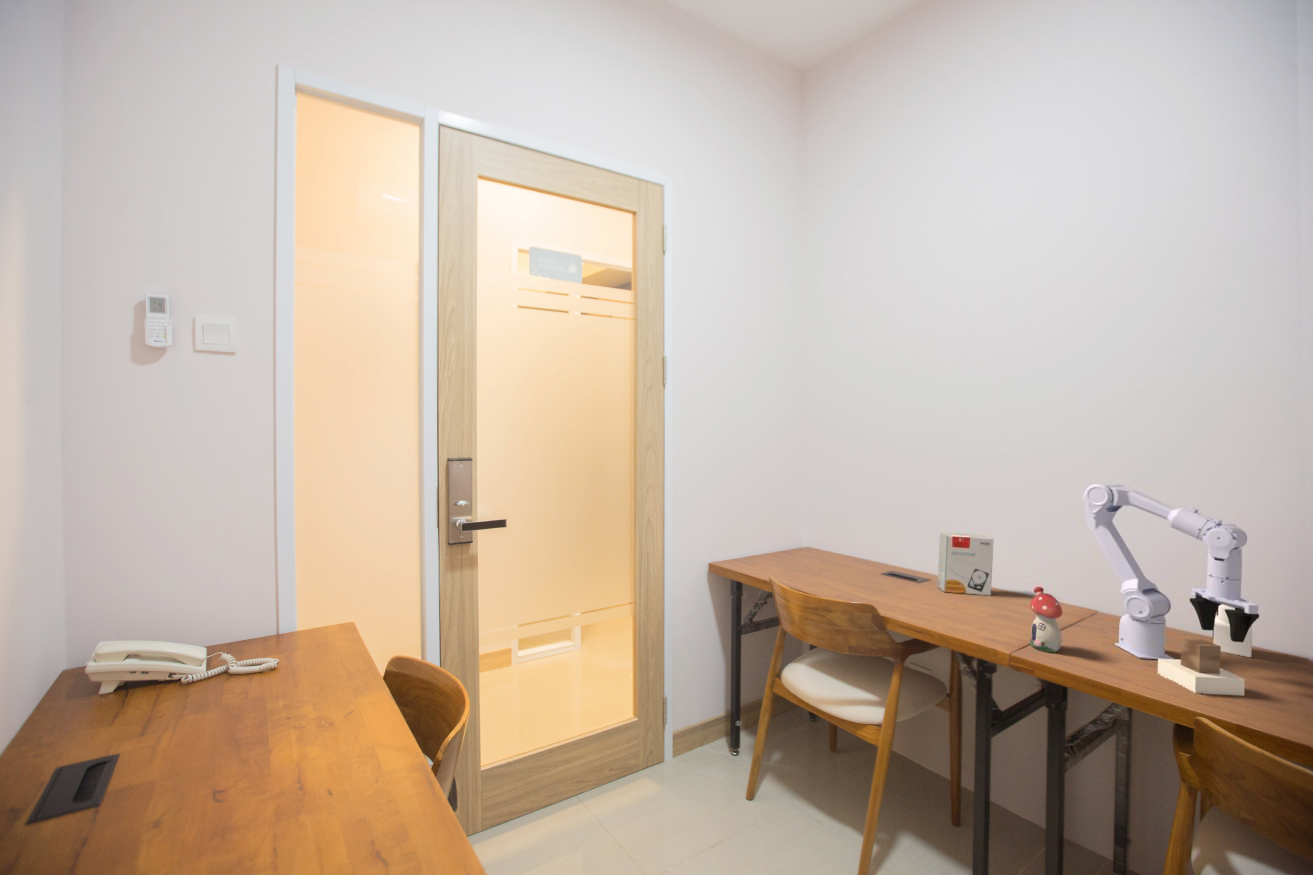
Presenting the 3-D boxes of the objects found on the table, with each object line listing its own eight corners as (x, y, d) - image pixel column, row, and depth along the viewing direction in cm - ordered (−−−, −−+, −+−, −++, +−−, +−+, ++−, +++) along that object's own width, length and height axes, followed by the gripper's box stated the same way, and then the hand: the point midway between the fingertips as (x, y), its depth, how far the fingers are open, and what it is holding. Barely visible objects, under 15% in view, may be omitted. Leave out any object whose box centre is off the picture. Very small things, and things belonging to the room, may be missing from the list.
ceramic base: (1157, 675, 134) (1158, 658, 134) (1202, 677, 134) (1203, 660, 134) (1194, 695, 124) (1195, 676, 124) (1244, 697, 124) (1244, 678, 124)
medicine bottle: (1213, 643, 156) (1214, 599, 156) (1251, 651, 151) (1252, 605, 150) (1212, 650, 151) (1213, 604, 151) (1251, 658, 146) (1252, 610, 145)
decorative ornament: (1026, 639, 155) (1027, 584, 155) (1055, 643, 153) (1056, 586, 153) (1034, 651, 147) (1036, 592, 146) (1065, 655, 144) (1067, 595, 144)
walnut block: (1180, 664, 131) (1181, 638, 131) (1200, 665, 131) (1201, 638, 131) (1199, 672, 126) (1199, 645, 126) (1219, 673, 126) (1220, 646, 126)
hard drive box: (943, 592, 201) (945, 535, 200) (936, 587, 208) (938, 531, 208) (992, 595, 198) (993, 537, 198) (983, 589, 206) (985, 534, 205)
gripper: (1179, 568, 141) (1177, 624, 141) (1234, 584, 127) (1232, 646, 127) (1209, 569, 141) (1207, 625, 141) (1269, 585, 126) (1267, 647, 126)
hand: (1221, 635), depth 134 cm, fingers open, 7 cm apart
